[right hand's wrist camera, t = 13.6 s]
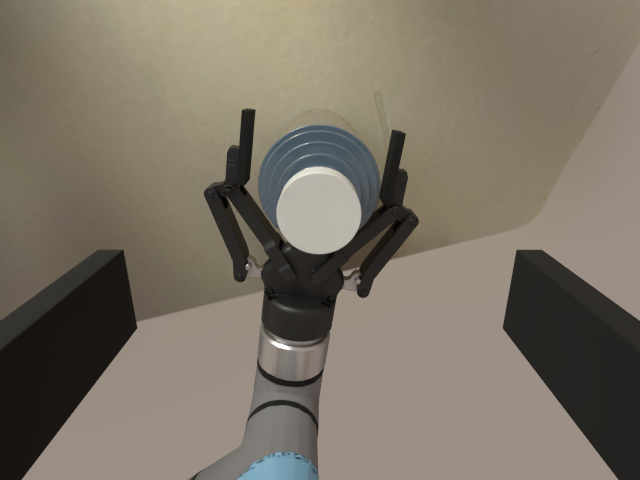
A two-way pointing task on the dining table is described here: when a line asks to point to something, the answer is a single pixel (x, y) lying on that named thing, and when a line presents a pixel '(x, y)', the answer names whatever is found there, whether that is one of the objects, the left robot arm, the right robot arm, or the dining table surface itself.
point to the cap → (318, 210)
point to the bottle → (319, 160)
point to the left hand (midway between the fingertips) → (324, 120)
